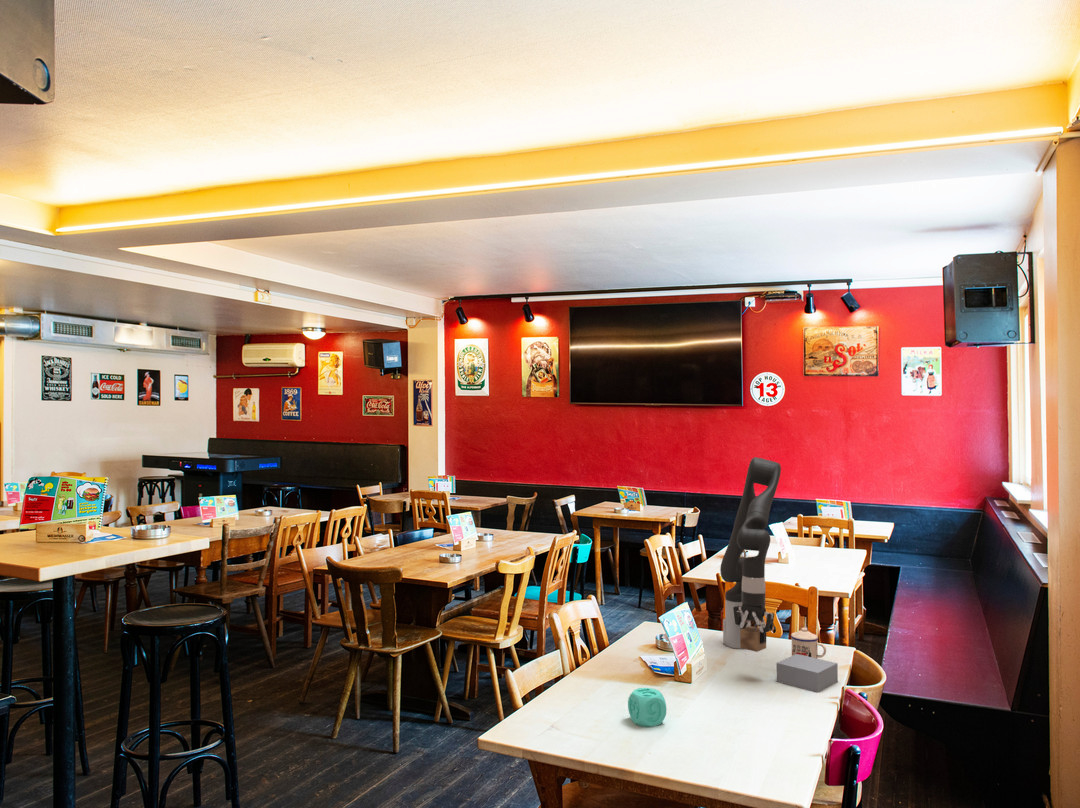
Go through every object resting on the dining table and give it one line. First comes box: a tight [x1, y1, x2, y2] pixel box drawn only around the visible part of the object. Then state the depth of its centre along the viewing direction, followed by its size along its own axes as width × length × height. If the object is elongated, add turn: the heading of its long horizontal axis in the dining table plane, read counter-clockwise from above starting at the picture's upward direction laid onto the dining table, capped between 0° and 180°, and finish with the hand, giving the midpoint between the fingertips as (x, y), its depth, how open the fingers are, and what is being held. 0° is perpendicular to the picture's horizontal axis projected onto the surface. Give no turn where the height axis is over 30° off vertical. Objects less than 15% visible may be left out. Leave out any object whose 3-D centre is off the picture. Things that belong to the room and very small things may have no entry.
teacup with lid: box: [790, 627, 827, 659], centre depth 260 cm, size 12×9×12 cm
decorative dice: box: [627, 687, 667, 728], centre depth 206 cm, size 8×8×8 cm
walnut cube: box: [740, 625, 767, 653], centre depth 243 cm, size 6×6×6 cm
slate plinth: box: [775, 654, 839, 693], centre depth 240 cm, size 14×14×6 cm
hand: (753, 641), depth 243 cm, fingers closed on walnut cube, 6 cm apart
